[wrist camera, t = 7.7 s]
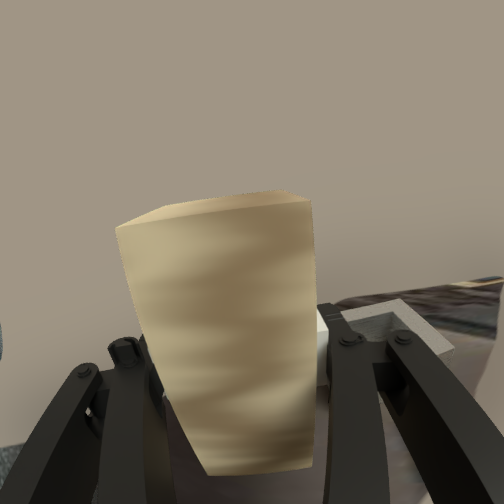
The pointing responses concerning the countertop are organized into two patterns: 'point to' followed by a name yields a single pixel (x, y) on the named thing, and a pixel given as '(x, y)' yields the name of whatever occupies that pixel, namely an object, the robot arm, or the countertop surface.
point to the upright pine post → (231, 324)
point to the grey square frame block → (396, 327)
